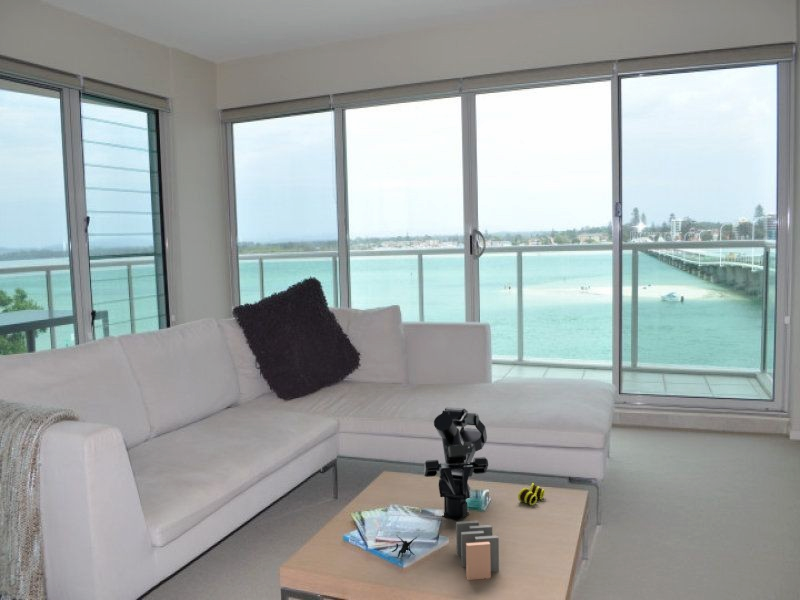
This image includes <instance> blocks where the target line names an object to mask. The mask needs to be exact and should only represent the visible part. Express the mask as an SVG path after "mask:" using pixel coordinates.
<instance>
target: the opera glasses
mask: <svg viewBox="0 0 800 600" xmlns="http://www.w3.org/2000/svg"><path fill="white" fill-rule="evenodd" d="M529 488H530V489H529ZM529 488H528V487H524V488H522V489H521V490H520V491H519V493H518V495H517V497H518V501H519V502H520V503H525V504H529V505H530V506H533V505H536V503H537V501H538V499H540V500H541V501H542V500H543V498H544V496H545V492H546V491H545V489H544V488H542V487H540V486H537V485H536V484H535V483H534V482H532V483H531V485H530V487H529Z"/></svg>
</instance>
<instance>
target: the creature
mask: <svg viewBox="0 0 800 600" xmlns="http://www.w3.org/2000/svg"><path fill="white" fill-rule="evenodd" d="M397 538H398V539H399V540H400V541H401V542H402V543H401V548H400V550H399V551H398V553H397V556H398V557H397V558H399V557H400V558H403V557H404V555H405V554H406V553H407V552H406V550H407V551H408V552H409V551H410V554H412V555H413V556H414V555H415V553H414V552H413V551H412V550H411V544H412V543H413V542H414V541H415V540H416V539H417V538H418V536H417V537H416V536H415V538H413V539H411V540H410V541H409V542H408V541H407V540H403V539H402V538H401V537H399V536H397ZM395 545H396V547H395V549H393V550H392V551H391V552H392V553H394V552H396V551H397V550H398V548H399V544H398V543H396V544H395ZM400 554H401V556H400ZM415 556H416V555H415Z"/></svg>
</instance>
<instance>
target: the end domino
mask: <svg viewBox="0 0 800 600" xmlns="http://www.w3.org/2000/svg"><path fill="white" fill-rule="evenodd" d="M465 568H466V570H465V574H466V579H467V580H468V581H471V580H472V581H473V580H483V579H484V578H486V579H491V578H492V575H491V574H492V572H491V558H490V543H489V542H477V543H466V567H465ZM484 580H485V579H484Z"/></svg>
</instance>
